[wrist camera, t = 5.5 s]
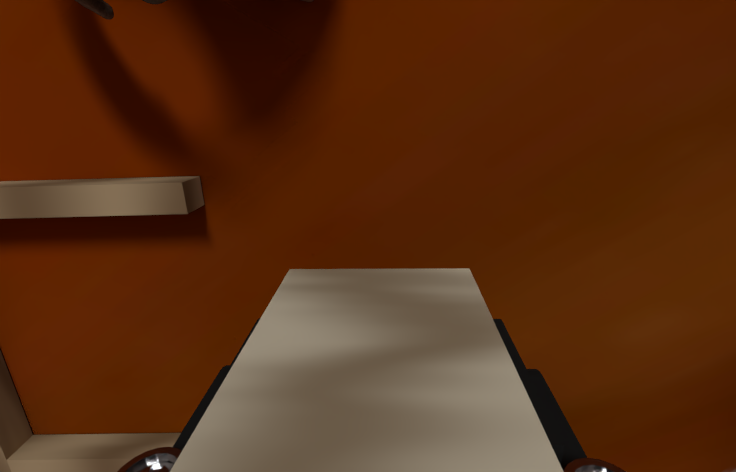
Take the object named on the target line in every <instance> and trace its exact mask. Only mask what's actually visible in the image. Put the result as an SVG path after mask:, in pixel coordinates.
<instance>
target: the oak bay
mask: <svg viewBox="0 0 736 472" xmlns="http://www.w3.org/2000/svg"><path fill="white" fill-rule="evenodd" d="M203 205H204V199H203V193H202V187H201V181H200V176H184V177H147V178H111V179H75V180H39V181H3V182H0V219H12V218H51V217H90V216H129V215H167V214H189V213H190V212H192V211H194V210H196V209H198V208H200V207H201V206H203ZM180 434H181V433H137V434H65V435H33V434H32V431H31V428H30V426H29V423H28V421H27V418H26V416H25V413H24V410H23V408H22V405H21V403H20V400H19V397H18V395H17V392H16V390H15V387H14V384H13V382H12V379H11V377H10V374H9V372H8V369H7V366H6V364H5V361H4V359H3V356H2V353H1V351H0V472H117V471H118V470H119V469H120V468H121V467H122V466H123V465H125V464H126V463H127V462H129V461H130V460H131V459H133V458H134V457H136V456H138V455H140V454H142V453H144V452H146V451H149V450H152V449H155V448H159V447H173V445H174V444H175V442H176V441H177V439H178V437H179V436H180Z"/></svg>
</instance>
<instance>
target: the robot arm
mask: <svg viewBox="0 0 736 472" xmlns="http://www.w3.org/2000/svg"><path fill="white" fill-rule="evenodd" d="M259 320H260V318H259V319H258V320H257V322H256V323H255V325H254V327H253V328H252V330H251V332H250V333H249V335H248V337H247V338H246V340H245V342H244V343H243V345H242V347H241V348H240V350H239V352H238V353H237V355H236V357H235V358H234V360H233V362H232V363H231V365H226V366H224V367H223V368H222V369H221V370H220V372H219V373H218V375H217V377H216V378H215V380H214V381H213V383H212V385H211V386H210V388H209V389H208V391H207V393H206V394H205V396H204V397H203V399H202V401H201V402H200V404H199V405H198V407H197V409H196V410H195V412H194V413H193V415H192V417H191V418H190V420H189V421H188V423H187V425H186V426H185V428H184V429H183V431H182V433H181V434H180V436H179V437H178V439H177V441H176V442H175V444H174V445H173V447H159V448H155V449H152V450H149V451H146V452H144V453H142V454H140V455H138V456H136V457H134V458H133V459H131V460H130V461H129V462H127V463H126V464H125V465H123V466H122V467H121V468H120V469H119V470H118V471H117V472H170V471H171V469H172V467H173V465H174V464H175V462H176V460H177V459H178V457H179V455H180V454H181V452H182V450H183V449H184V447H185V445H186V444H187V442H188V440H189V438H190V437H191V435H192V433H193V432H194V430H195V428H196V427H197V425H198V423H199V422H200V420H201V418H202V416H203V415H204V413H205V411H206V410H207V408H208V406H209V405H210V403H211V401H212V400H213V398H214V396H215V395H216V393H217V391H218V389H219V388H220V386H221V384H222V383H223V381H224V379H225V378H226V376H227V374H228V373H229V371H230V369H231V367H232V366H233V364H234V362H235V361H236V359H237V357H238V356H239V354H240V352H241V351H242V349H243V347H244V346H245V344H246V342H247V340H248V339H249V337H250V335H251V334H252V332H253V330H254V329H255V327H256V325H257V324H258V322H259ZM493 321H494V323H495V325H496V327H497V329H498V332H499V334H500V336H501V338H502V340H503V342H504V344H505V347H506V349H507V351H508V353H509V355H510V357H511V360H512V362H513V364H514V366H515V368H516V370H517V372H518V375H519V377H520V379H521V381H522V383H523V385H524V388H525V390H526V392H527V394H528V396H529V398H530V400H531V403H532V405H533V407H534V409H535V411H536V413H537V416H538V418H539V420H540V422H541V424H542V426H543V428H544V431H545V433H546V435H547V437H548V439H549V441H550V444H551V446H552V448H553V450H554V452H555V454H556V456H557V459H558V461H559V463H560V465H561V467H562V469H563V472H626V471H624V470H622V469H620V468H619V467H617V466H615V465H613V464H611V463H608V462H605V461H602V460H600V459H593V458H587V456H586V455H585V453H584V451H583V449H582V447H581V445H580V444H579V442H578V440H577V438H576V436H575V434H574V433H573V431H572V429H571V427H570V425H569V424H568V422H567V420H566V418H565V416H564V414H563V413H562V411H561V409H560V407H559V405H558V403H557V402H556V400H555V398H554V396H553V394H552V392H551V391H550V389H549V387H548V385H547V383H546V382H545V380H544V378H543V376H542V374H541V373H540V372H539V371H538V370H536V369H526V367H525V365H524V363H523V361H522V359H521V358H520V356H519V354H518V352H517V350H516V348H515V346H514V344H513V342H512V340H511V338H510V336H509V334H508V332H507V330H506V328H505V326H504V324H503V322H502V320H501V319H493Z"/></svg>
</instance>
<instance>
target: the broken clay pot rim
mask: <svg viewBox="0 0 736 472" xmlns="http://www.w3.org/2000/svg"><path fill="white" fill-rule="evenodd" d="M75 1H76V2H78V3H79V4H81V5H82V6H84V7H86V8H88V9H90V10H91V11H93V12H95V13H97V14H98V15H100V16H102V17H103V18H105V19H112V18H113V17H114V13H113V9H112V7H111V6H109V5H108V4H107V3H106V2H104V1H103V0H75ZM143 1H145V2H147V3H150V4H160V3H163V2H165V1H167V0H143ZM301 1H306V2H312V1H314V0H301Z"/></svg>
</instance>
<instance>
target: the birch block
mask: <svg viewBox="0 0 736 472" xmlns="http://www.w3.org/2000/svg"><path fill="white" fill-rule="evenodd" d="M170 472H563V469H562V467H561V465H560V463H559V461H558V459H557V456H556V454H555V452H554V450H553V448H552V446H551V444H550V441H549V439H548V437H547V435H546V433H545V431H544V428H543V426H542V424H541V422H540V420H539V418H538V416H537V413H536V411H535V409H534V407H533V405H532V403H531V400H530V398H529V396H528V394H527V392H526V390H525V388H524V385H523V383H522V381H521V379H520V377H519V375H518V372H517V370H516V368H515V366H514V364H513V362H512V360H511V357H510V355H509V353H508V351H507V349H506V347H505V344H504V342H503V340H502V338H501V336H500V334H499V332H498V329H497V327H496V325H495V323H494V321H493V319H492V316H491V314H490V312H489V310H488V308H487V306H486V304H485V301H484V299H483V297H482V295H481V293H480V291H479V288H478V286H477V284H476V282H475V280H474V278H473V276H472V273H471V271H470V269H289V271H288V273H287V275H286V276H285V278H284V280H283V281H282V283H281V285H280V286H279V288H278V290H277V291H276V293H275V295H274V297H273V298H272V300H271V302H270V303H269V305H268V307H267V308H266V310H265V312H264V313H263V315H262V317H261V318H260V320H259V322H258V324H257V325H256V327H255V329H254V330H253V332H252V334H251V335H250V337H249V339H248V340H247V342H246V344H245V346H244V347H243V349H242V351H241V352H240V354H239V356H238V357H237V359H236V361H235V362H234V364H233V366H232V367H231V369H230V371H229V373H228V374H227V376H226V378H225V379H224V381H223V383H222V384H221V386H220V388H219V389H218V391H217V393H216V395H215V396H214V398H213V400H212V401H211V403H210V405H209V406H208V408H207V410H206V411H205V413H204V415H203V416H202V418H201V420H200V422H199V423H198V425H197V427H196V428H195V430H194V432H193V433H192V435H191V437H190V438H189V440H188V442H187V444H186V445H185V447H184V449H183V450H182V452H181V454H180V455H179V457H178V459H177V460H176V462H175V464H174V465H173V467H172V469H171V471H170Z"/></svg>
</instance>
